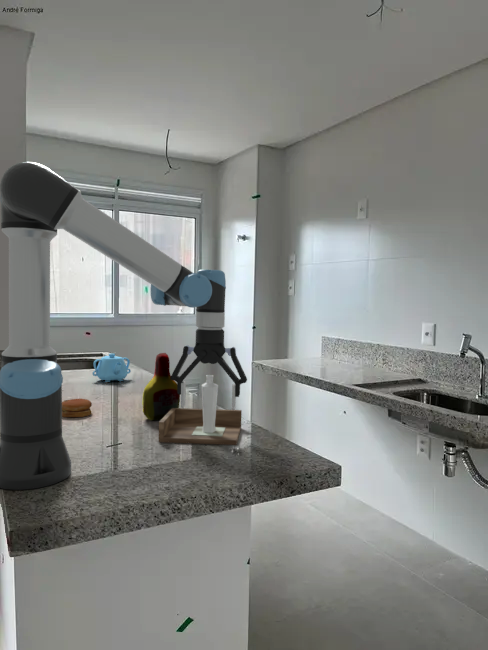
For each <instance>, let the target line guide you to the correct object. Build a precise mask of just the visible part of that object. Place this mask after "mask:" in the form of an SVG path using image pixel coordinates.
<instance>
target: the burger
mask: <svg viewBox="0 0 488 650" xmlns="http://www.w3.org/2000/svg"><path fill="white" fill-rule="evenodd" d="M92 406H93V403H92V402H91V400H89V399H86V398H72V399H66V400H62V418H83V417H88V416H90V415H91V414H92V411H91V407H92Z"/></svg>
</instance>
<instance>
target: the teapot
mask: <svg viewBox="0 0 488 650" xmlns="http://www.w3.org/2000/svg"><path fill="white" fill-rule="evenodd" d="M125 360H126V361H127V363H125ZM97 362H98V364H97ZM130 363H131V361H130V359H129V358H128V357H125V356H124V357H122V356H117V355H116V353H108V355H104V356H102V357H101V358H96V359H95V360H94V361H93V368H94V370H93V372H92V376H93V377H97V378H98V379H99V380H100V381H101V380H105V381H104V383H105V382H110V383H111V381H117V382H118V381H123V382H124V379H126V378H127V376H128V374H130V373H131V369H130V368H129V367H130Z"/></svg>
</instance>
